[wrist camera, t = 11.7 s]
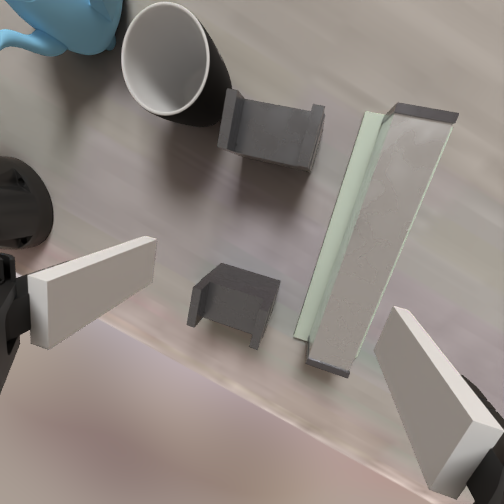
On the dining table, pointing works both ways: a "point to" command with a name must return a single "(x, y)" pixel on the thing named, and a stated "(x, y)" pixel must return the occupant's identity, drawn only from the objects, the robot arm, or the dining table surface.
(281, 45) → the dining table surface
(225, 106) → the post
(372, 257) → the rail
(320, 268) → the mat
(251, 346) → the post
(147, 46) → the mug
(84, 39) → the teapot
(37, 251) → the dining table surface
